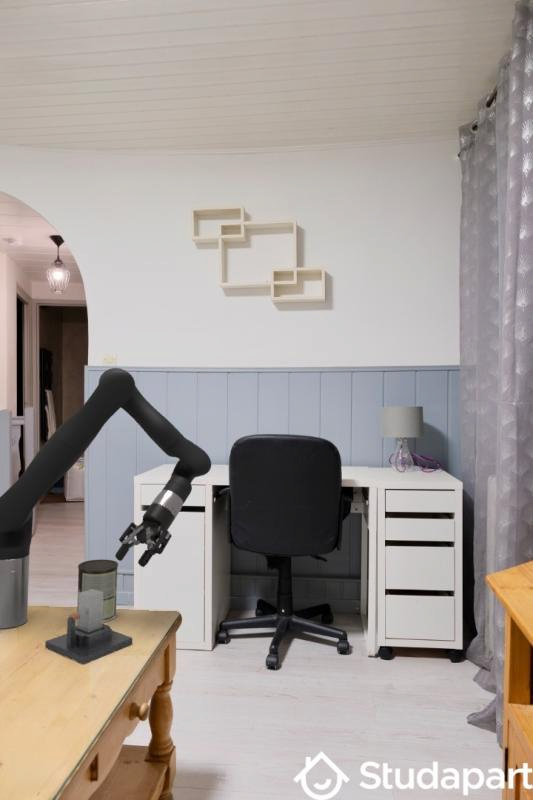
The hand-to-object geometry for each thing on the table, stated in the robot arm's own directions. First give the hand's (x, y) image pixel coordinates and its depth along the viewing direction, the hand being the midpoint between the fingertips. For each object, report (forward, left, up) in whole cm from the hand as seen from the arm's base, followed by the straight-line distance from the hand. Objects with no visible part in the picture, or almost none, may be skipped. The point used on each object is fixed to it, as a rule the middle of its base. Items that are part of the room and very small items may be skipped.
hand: (129, 562), depth 145 cm
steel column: (0, -11, -16) cm, 19 cm away
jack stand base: (0, -11, -17) cm, 21 cm away
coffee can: (-14, +2, -18) cm, 23 cm away
